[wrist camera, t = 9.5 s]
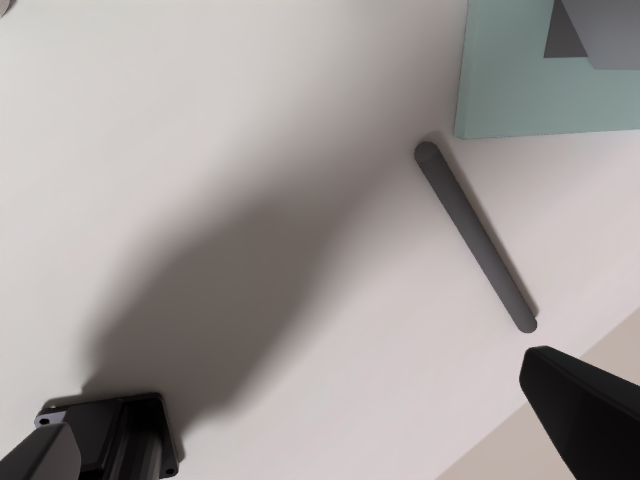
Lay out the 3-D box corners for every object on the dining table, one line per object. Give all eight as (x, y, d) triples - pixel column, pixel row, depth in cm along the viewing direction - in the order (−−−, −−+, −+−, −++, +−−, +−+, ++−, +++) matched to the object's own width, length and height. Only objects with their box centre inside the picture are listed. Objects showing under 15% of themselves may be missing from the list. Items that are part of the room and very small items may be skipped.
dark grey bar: (531, 318, 27) (544, 329, 26) (516, 329, 27) (528, 340, 26) (425, 135, 20) (436, 139, 19) (406, 150, 20) (416, 155, 19)
